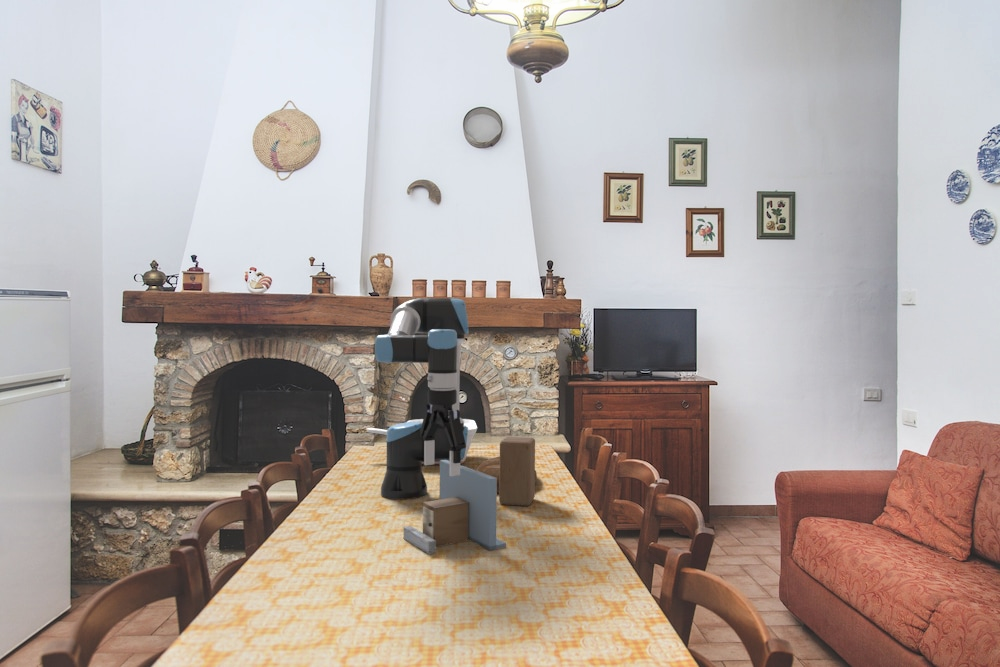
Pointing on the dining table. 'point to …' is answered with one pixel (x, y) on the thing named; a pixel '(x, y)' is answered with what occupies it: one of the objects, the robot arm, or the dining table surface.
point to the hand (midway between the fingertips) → (441, 469)
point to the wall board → (474, 502)
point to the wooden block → (517, 471)
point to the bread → (493, 469)
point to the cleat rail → (420, 540)
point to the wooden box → (446, 520)
